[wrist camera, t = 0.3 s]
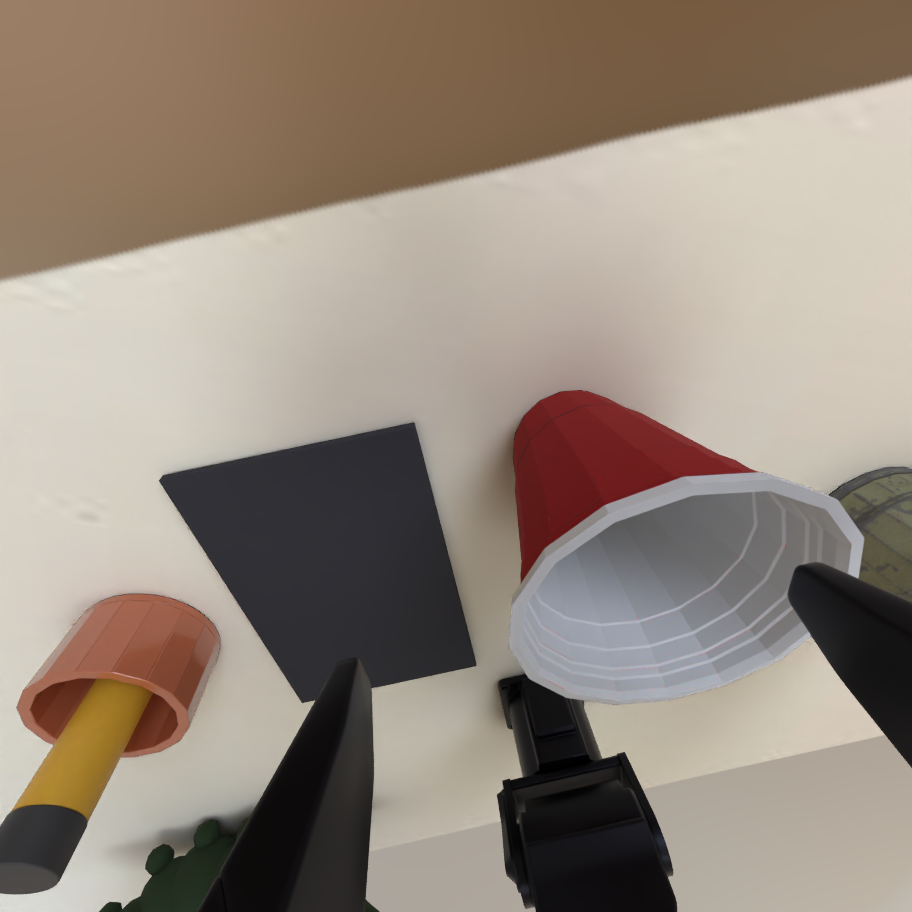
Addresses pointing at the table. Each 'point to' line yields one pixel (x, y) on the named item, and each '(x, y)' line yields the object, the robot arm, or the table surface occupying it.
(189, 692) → the pen cup
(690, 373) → the table surface
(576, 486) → the plastic cup
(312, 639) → the mat
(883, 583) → the thermos
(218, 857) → the toy figurine
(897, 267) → the table surface
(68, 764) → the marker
